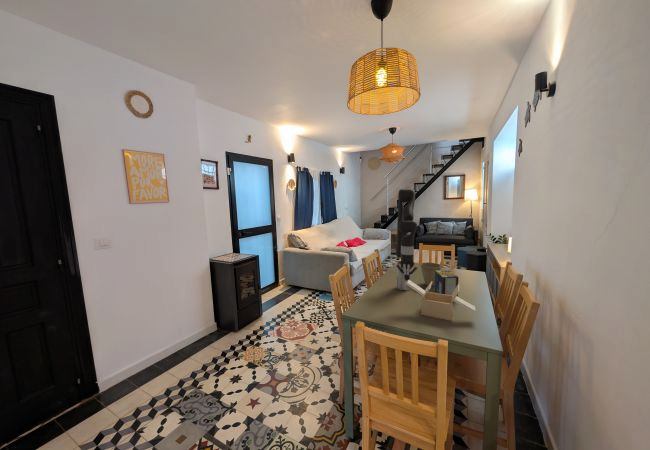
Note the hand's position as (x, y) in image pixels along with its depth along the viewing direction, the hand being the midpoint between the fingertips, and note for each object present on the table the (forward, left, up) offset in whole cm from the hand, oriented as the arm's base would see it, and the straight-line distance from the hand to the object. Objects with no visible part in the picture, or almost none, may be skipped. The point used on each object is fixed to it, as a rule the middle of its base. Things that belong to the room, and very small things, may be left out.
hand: (406, 280), depth 157 cm
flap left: (+12, 0, -4) cm, 13 cm away
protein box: (+21, +33, -18) cm, 43 cm away
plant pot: (+9, +51, -18) cm, 55 cm away
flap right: (+27, 0, -4) cm, 27 cm away
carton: (+18, 0, -18) cm, 25 cm away
